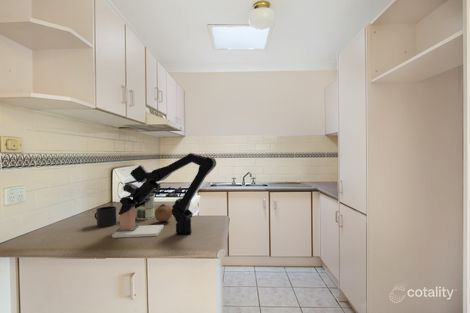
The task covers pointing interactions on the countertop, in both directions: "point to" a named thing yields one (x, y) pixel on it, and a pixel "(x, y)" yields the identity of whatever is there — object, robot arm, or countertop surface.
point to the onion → (163, 213)
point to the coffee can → (146, 209)
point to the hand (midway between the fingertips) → (124, 212)
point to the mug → (106, 216)
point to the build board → (139, 231)
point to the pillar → (127, 220)
